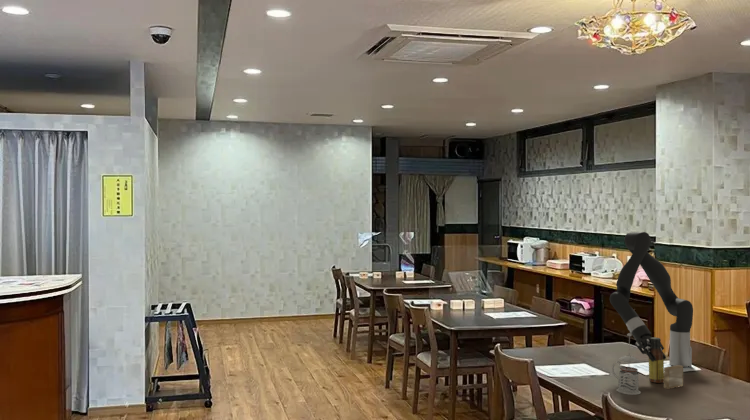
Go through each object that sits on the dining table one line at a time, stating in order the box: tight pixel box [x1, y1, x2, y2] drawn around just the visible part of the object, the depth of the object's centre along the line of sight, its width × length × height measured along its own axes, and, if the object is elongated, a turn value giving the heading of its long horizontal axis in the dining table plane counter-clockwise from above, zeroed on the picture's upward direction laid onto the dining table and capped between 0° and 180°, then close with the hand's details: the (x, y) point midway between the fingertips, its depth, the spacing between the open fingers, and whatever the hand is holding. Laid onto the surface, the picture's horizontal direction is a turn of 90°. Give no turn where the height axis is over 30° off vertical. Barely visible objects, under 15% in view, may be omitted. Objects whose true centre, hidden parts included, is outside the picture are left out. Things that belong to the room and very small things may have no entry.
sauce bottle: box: [648, 336, 665, 384], centre depth 291 cm, size 7×6×20 cm
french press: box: [611, 332, 642, 396], centre depth 276 cm, size 10×12×25 cm
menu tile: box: [663, 365, 684, 390], centre depth 283 cm, size 2×10×9 cm, turn 118°
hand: (659, 359), depth 290 cm, fingers closed on sauce bottle, 6 cm apart
